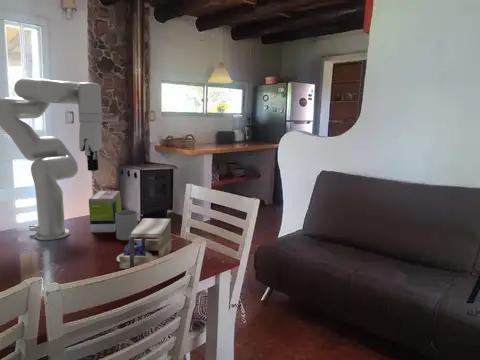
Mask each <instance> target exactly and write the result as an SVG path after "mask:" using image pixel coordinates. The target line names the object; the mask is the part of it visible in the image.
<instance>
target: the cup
mask: <svg viewBox="0 0 480 360" xmlns="http://www.w3.org/2000/svg"><path fill="white" fill-rule="evenodd" d="M115 219H116V230H115V238H116V239H117V240H120V241H129V236H131V233H132V231H133V230H134V229H135V228H136V227H137V225H138V224H139V223H138V211H136V210H132V209H125V210H124V209H123V210H121V211H118V212H116V213H115ZM134 239H138V237H134Z"/></svg>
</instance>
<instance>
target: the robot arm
mask: <svg viewBox="0 0 480 360" xmlns="http://www.w3.org/2000/svg"><path fill="white" fill-rule="evenodd" d="M13 89H14V92H15V94H16V95H17V96H18V97H17V96H8V97H2V98H0V127H1V129H2V130H3V131H4V132H5V133H6V134H7V135H8V136H9V137H10V138H11V140H12V141H13V143H14V144H15V145H16V147H17V148H18V149H19V151H20V153H21V154H22V155H23V157H24V158H25V159H26V160H27V161H30V162H32V164H31V166H30V172H31V173H30V174H31V176H32V180H33V184H34V189H35V190H34V191H35V200H36V209H37V210H36V211H37V212H36V213H37V222H38V223H37V224H29V228H28V229H29V232H33V231H34V232H35V234H34V238H35V239H37V240H41V241H53V240H59V239H63V238H65V237H67V236H69V235H70V230H69V229H68V228H66V226H65V224H66V223H65V221H66V220H65V208H64V192H63V190H62V187H61V186H60V185H59V184H58V182H57V181H62V180H67V179H71V178H73V177H75V176H76V175H77V173H78V170H79V166H78V163H77V161H76V159H75V157H74V155H72V153H71V152H70V150H69V149H68V148H67V146H66V144H65V143H64V142H63V141H62V140H61V139H60V138H58V137H57V136H52V135H47V136H43V135H38V134H37V133H36V132H35V130H34V128H33V127H32V126H31V125H29V124H28V123H26V122H24V121H23V119H37V118H40V117H41V116H42V115H43V114H44V113H45V112H46V111H47V109H48V108H49V107H50V105H51V104H64V105H65V104H70V105H78V107H77V108H78V122H79V130H78V131H79V133H78V135H79V136H78V142H79V143H78V145H79V146H78V148H79V151H80V152H84V156H85V157H86V161H87V162H86V163H87V171H89V172H91V171H93V172H96V171H98V170H99V152H100V150H101V149H102V147H103V137H102V136H103V135H102V127H101V124H103V115H102V90H101V89H102V88H101V85H100V84H99V83H96V82H86V81H85V82H84V81H83V82H76V81H65V80H64V81H63V80H51V79H48V78H36V77H35V78H32V77H23V78H21V79H19V80H17V81H16V82H15V84H14V88H13ZM21 119H22V120H21Z"/></svg>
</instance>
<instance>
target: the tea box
mask: <svg viewBox="0 0 480 360" xmlns="http://www.w3.org/2000/svg"><path fill="white" fill-rule="evenodd" d="M121 201H122V200H121V190H98V191H97V192H95V193H94V194H93V195H92V196H91V197H89V198H88V210H89V211H88V212H89V223H90V232H91V233H114V232H115V233H116V219H115V213H116V212H118V211H122V202H121Z"/></svg>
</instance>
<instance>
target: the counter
mask: <svg viewBox="0 0 480 360" xmlns="http://www.w3.org/2000/svg"><path fill="white" fill-rule="evenodd" d="M171 221H172V219H171V218H152V217H151V218H150V217H149V218H146V217H145V218H142V219H141V221H140V222H139V223H138V225H137V227H136V228H135V229H134V230H133V231H132V233H131V236H129V240H128V244H129V256H119V255H118V256H119V269H130V268H131V267H134V266H138V265H141V264H144V263H147V262H150V261H153V260H155V259H158V258H160V257H163V256H165V255H167V254H169V253H171V252H172V226H171V225H172V222H171ZM134 237H137V238H135V239H134ZM147 238H148V239H147ZM149 238H150V239H149ZM151 238H156V239H151ZM134 242H135V243H136V242H138V243H141V244H142V245H143V247H144V251H146V252H149V251H152V252H153V251H154V252H155V251H156V252H157V251H158V255H152V256H135V252H134ZM169 255H170V254H169Z"/></svg>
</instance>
